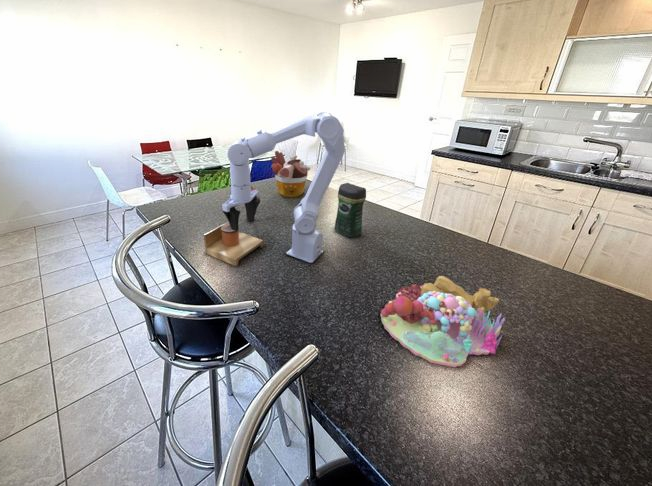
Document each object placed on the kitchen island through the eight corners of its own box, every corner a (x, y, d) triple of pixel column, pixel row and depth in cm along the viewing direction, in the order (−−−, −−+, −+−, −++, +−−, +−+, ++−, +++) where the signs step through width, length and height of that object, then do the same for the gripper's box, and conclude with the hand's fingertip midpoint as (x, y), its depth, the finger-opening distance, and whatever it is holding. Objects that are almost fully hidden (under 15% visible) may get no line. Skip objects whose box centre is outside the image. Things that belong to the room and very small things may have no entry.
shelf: (263, 246, 100) (263, 228, 97) (235, 266, 89) (234, 246, 86) (234, 235, 106) (233, 218, 103) (205, 253, 95) (203, 234, 92)
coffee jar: (364, 233, 109) (371, 186, 102) (351, 240, 105) (357, 191, 97) (343, 224, 116) (349, 179, 108) (330, 230, 111) (335, 183, 103)
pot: (230, 236, 101) (229, 221, 98) (243, 241, 98) (242, 226, 96) (218, 243, 96) (217, 228, 94) (231, 248, 93) (230, 233, 91)
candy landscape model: (406, 278, 85) (412, 251, 81) (503, 317, 72) (516, 287, 68) (369, 329, 67) (374, 298, 63) (488, 395, 54) (505, 360, 50)
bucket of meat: (315, 193, 146) (318, 153, 138) (295, 203, 134) (297, 160, 126) (284, 184, 157) (285, 147, 149) (263, 192, 146) (263, 153, 137)
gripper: (245, 174, 93) (247, 213, 99) (212, 187, 82) (216, 230, 88) (263, 178, 90) (264, 218, 96) (231, 192, 79) (234, 236, 84)
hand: (242, 224), depth 91 cm, fingers open, 7 cm apart
